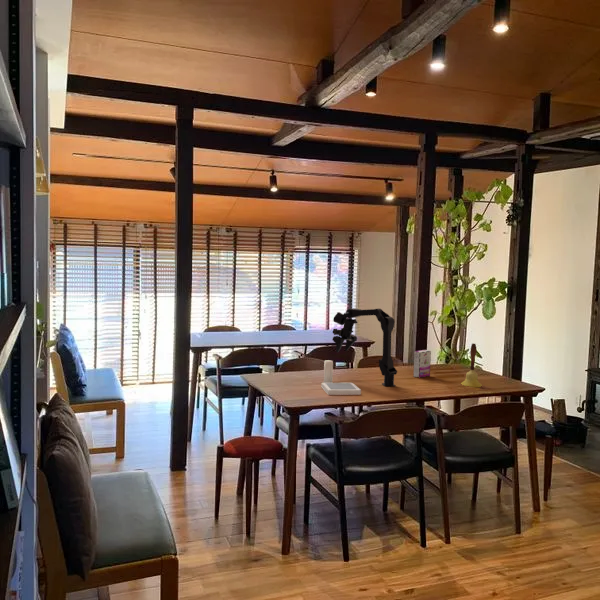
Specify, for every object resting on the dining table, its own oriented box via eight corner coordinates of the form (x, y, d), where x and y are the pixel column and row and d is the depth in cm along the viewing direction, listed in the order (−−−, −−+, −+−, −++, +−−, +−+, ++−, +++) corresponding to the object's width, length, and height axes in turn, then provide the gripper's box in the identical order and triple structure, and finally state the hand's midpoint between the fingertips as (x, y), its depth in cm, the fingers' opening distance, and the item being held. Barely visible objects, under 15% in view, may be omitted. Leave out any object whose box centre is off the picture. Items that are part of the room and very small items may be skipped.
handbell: (479, 388, 328) (481, 346, 326) (458, 385, 334) (460, 343, 333) (484, 384, 338) (486, 343, 337) (463, 381, 345) (466, 341, 343)
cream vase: (332, 384, 325) (333, 361, 324) (324, 384, 324) (325, 361, 323) (331, 382, 330) (331, 360, 329) (322, 382, 329) (323, 360, 328)
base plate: (360, 394, 301) (360, 389, 301) (327, 394, 298) (328, 389, 298) (352, 386, 319) (352, 382, 319) (321, 387, 316) (321, 382, 316)
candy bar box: (423, 374, 362) (425, 349, 361) (430, 376, 358) (431, 350, 357) (412, 376, 355) (414, 350, 354) (419, 378, 351) (420, 352, 350)
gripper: (346, 322, 356) (340, 345, 359) (328, 324, 341) (322, 348, 345) (360, 328, 349) (353, 351, 353) (343, 330, 335) (336, 355, 338)
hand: (341, 351), depth 347 cm, fingers open, 9 cm apart
